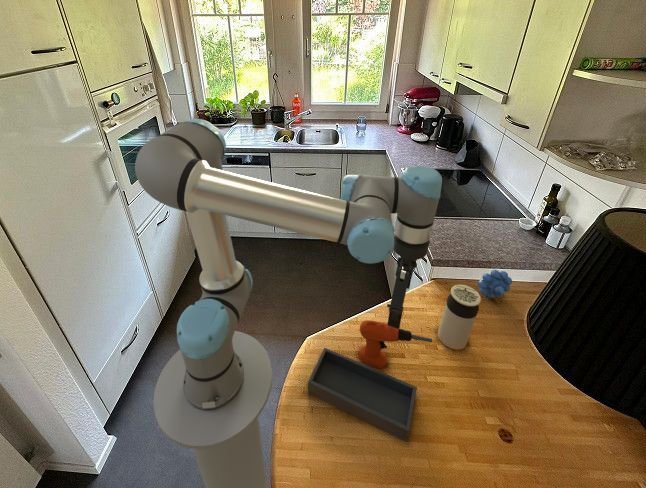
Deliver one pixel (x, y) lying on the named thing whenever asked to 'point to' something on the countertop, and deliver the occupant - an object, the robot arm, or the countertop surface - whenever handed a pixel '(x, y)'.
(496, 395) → the countertop surface
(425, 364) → the countertop surface
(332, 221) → the robot arm
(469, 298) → the travel mug
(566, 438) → the countertop surface
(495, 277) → the grapes
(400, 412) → the tray
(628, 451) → the countertop surface
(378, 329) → the toy drill
